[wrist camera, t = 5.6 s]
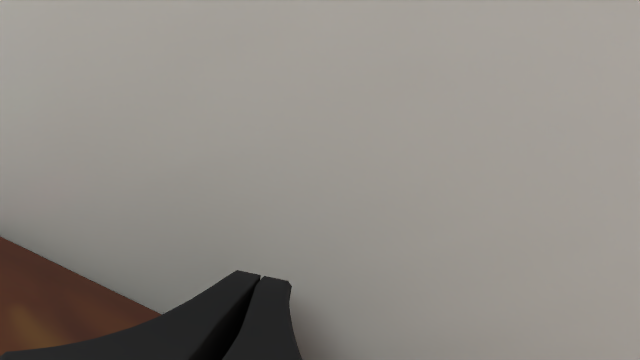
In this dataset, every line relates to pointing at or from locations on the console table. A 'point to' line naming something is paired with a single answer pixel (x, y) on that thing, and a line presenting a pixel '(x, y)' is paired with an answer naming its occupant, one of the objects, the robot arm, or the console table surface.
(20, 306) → the diary
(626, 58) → the console table surface
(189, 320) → the robot arm
